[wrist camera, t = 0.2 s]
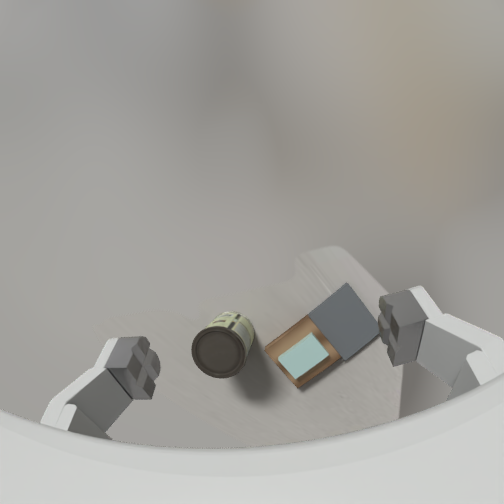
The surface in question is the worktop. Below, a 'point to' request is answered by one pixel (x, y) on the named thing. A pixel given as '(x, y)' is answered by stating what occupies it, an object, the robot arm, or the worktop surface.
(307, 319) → the brown square plate
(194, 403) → the worktop surface
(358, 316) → the grey flat slab
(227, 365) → the coffee can
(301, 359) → the block
